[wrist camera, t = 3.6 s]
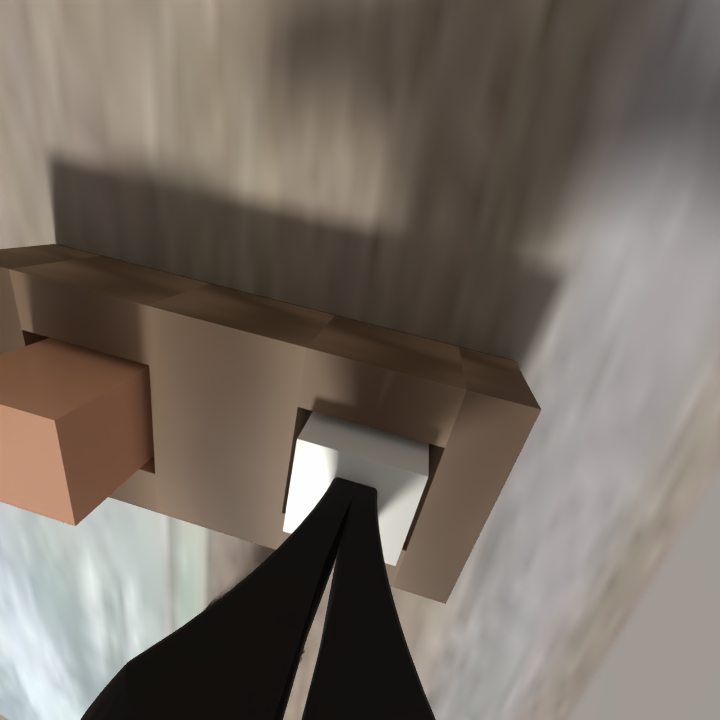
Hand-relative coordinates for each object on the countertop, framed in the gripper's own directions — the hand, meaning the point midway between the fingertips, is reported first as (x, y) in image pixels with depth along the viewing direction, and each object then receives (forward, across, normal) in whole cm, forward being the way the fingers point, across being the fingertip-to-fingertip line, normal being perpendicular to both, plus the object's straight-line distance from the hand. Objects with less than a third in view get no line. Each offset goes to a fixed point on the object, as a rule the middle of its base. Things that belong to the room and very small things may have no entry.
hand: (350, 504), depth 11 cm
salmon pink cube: (+2, +10, 0) cm, 10 cm away
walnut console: (+4, +5, 0) cm, 7 cm away
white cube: (+4, 0, 0) cm, 4 cm away
